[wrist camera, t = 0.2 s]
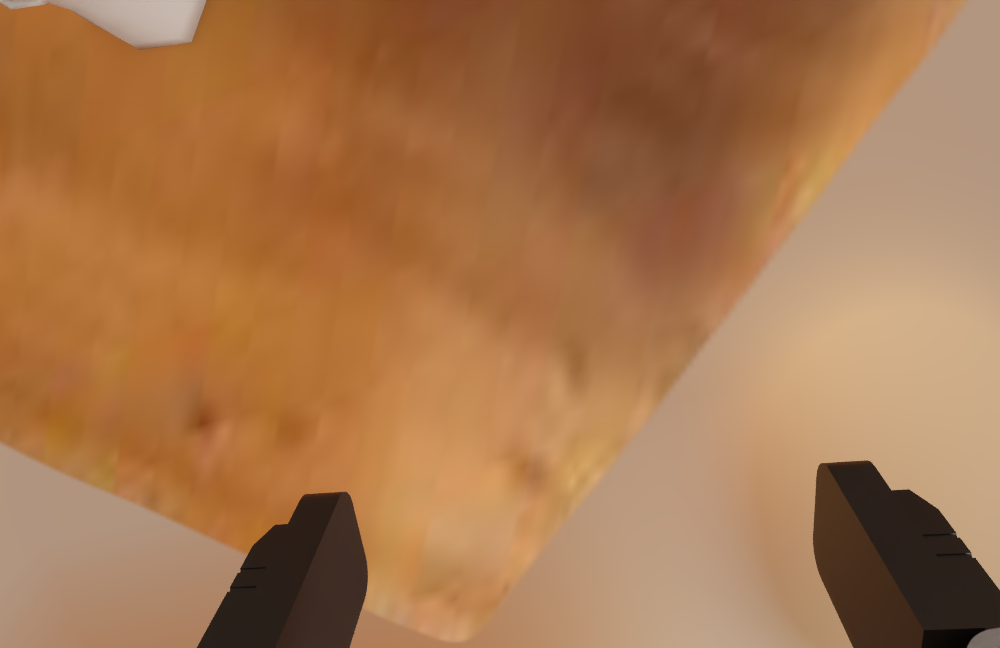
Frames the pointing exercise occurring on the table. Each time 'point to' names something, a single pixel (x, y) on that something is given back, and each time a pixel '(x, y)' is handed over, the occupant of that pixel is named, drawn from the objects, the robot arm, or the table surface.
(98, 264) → the table surface
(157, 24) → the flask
